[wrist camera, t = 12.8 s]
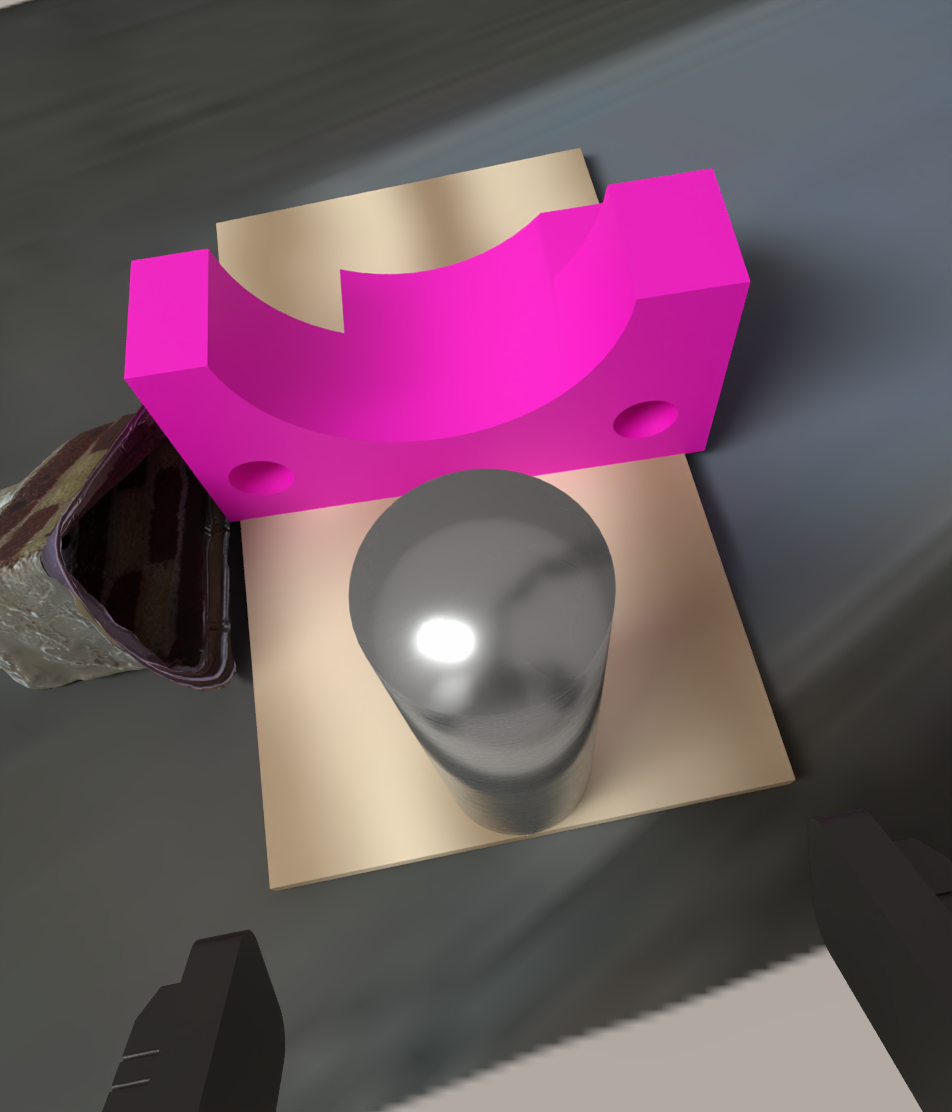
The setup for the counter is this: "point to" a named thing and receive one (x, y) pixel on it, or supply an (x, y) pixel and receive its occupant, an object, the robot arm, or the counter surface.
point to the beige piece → (480, 601)
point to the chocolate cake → (114, 564)
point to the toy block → (451, 357)
